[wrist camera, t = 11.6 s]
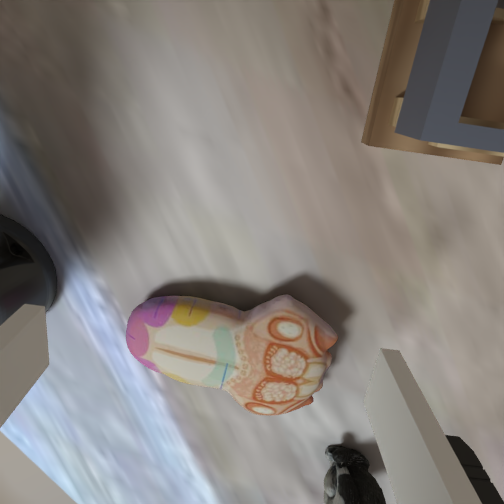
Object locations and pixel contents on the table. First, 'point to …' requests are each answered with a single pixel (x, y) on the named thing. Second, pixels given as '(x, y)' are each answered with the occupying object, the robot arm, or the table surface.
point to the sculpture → (236, 348)
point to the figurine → (350, 479)
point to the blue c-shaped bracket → (448, 75)
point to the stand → (397, 75)
